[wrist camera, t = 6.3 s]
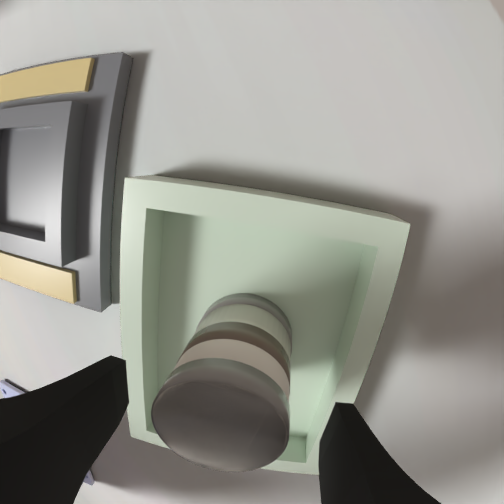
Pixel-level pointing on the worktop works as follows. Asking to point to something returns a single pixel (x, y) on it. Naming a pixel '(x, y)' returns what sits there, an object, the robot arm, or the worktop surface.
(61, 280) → the fuse holder
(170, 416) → the cylinder
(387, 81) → the worktop surface
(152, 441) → the parts tray
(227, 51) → the worktop surface
